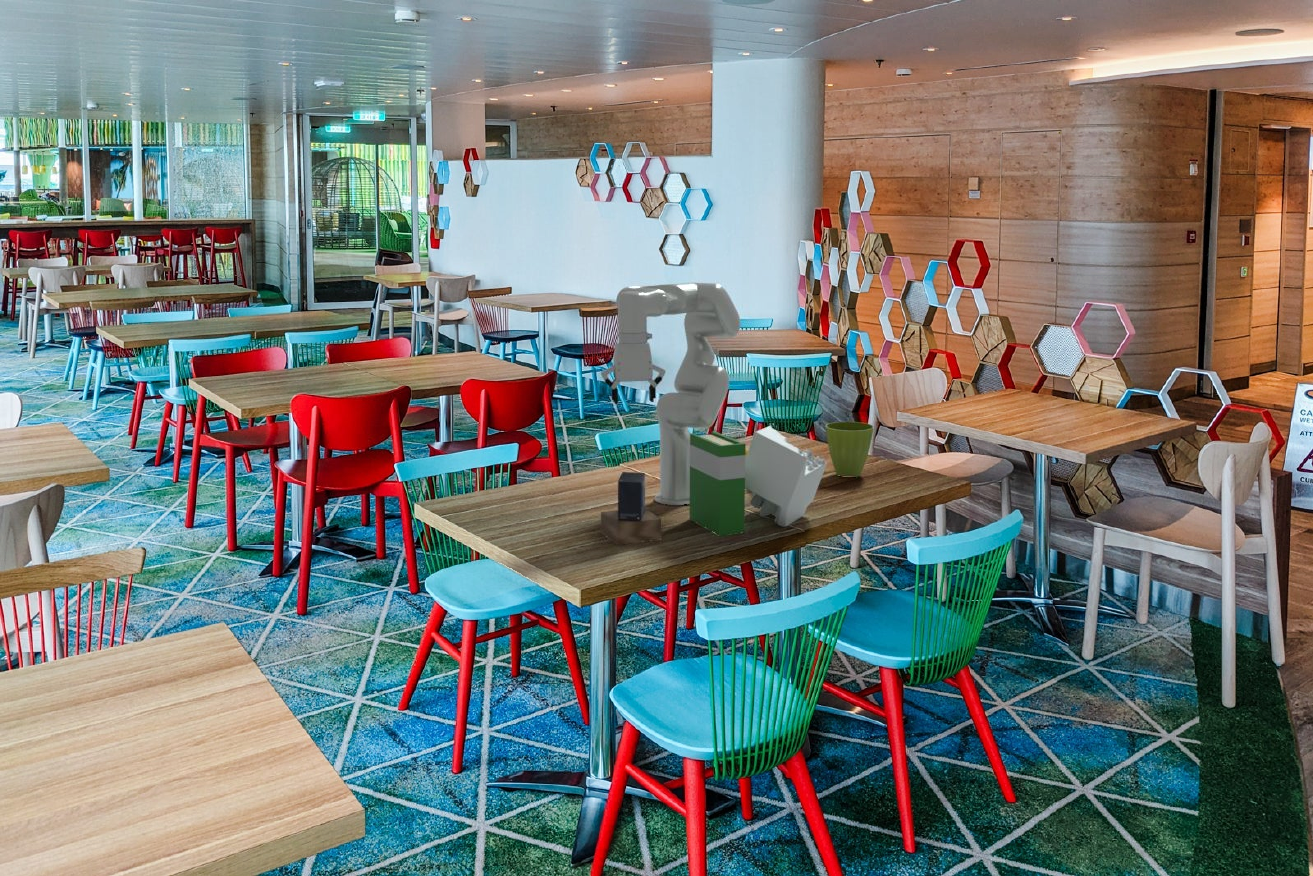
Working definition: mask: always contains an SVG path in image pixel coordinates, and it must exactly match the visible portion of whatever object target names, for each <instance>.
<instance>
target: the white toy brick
mask: <svg viewBox="0 0 1313 876" xmlns="http://www.w3.org/2000/svg"><path fill="white" fill-rule="evenodd" d="M748 450H749V451H748V453H747V456H746V459H745V490H747V491H749V492H751V493H752V496H753V498H752V499H751V500H750V501H749V504H750V505H751V506H752V507H753V508H756V509H758V510H759V514H758V515H759V516H760V517H761V518H763V519H765V518H766V517H767V516H768V515H769V516H770V515H772V516H773V517H775V519H774V524H777V525H778V526H780V527H784V528H786V527H788V526H790V525H791V524H793V523H794V522H796V521H797V520H798V519H801V518H803V517H804V516H805V513H806V510H807V508H808V506H810V504H812V502H813V501H814V498H815V496H816V493H817V490H818V488H819V485H820V482H821V480H822V478H823V475H824V472H825V470H826V467H827V464H828V463H827V462H826V459H825V457H822V458H821V457H820V456H819V455H817V456H815V455H813V452H812V449H811V448H810V449H808V450H807V449H806V448H805V449H804V450H805V451H804V450H803V449H802V448H798V447H796V446H794V445H793V444H791V442H787V437H786V436H784V435H782V434H781V433H780V432H778V430H776V429H774V428H773V427H772V425H768V426H767V427H766V426H765V427H764V428H762V429H759V430H757V431H755V432H754V434H753V437H752V440H751V443H750V445H749V448H748ZM764 517H765V518H764ZM792 522H793V523H792Z"/></svg>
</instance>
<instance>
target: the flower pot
mask: <svg viewBox="0 0 1313 876" xmlns="http://www.w3.org/2000/svg"><path fill="white" fill-rule="evenodd" d="M825 433H826V434H825V435H826V440H827V446H828V450H829V455H830V458H831V461H832V462H831V463H832V465H833V467H834V471H835V474H836V476H837V475H840V476H859V477H860V476H861V475H862V472H863V470H864V467H865V465H866V462H867V459H868V457H869V452H870V447H871V443H872V440H873V433H874V425H872V424H871V423H866V422H859V421H858V422H857V421H836V422H830V423H826V424H825Z"/></svg>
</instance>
